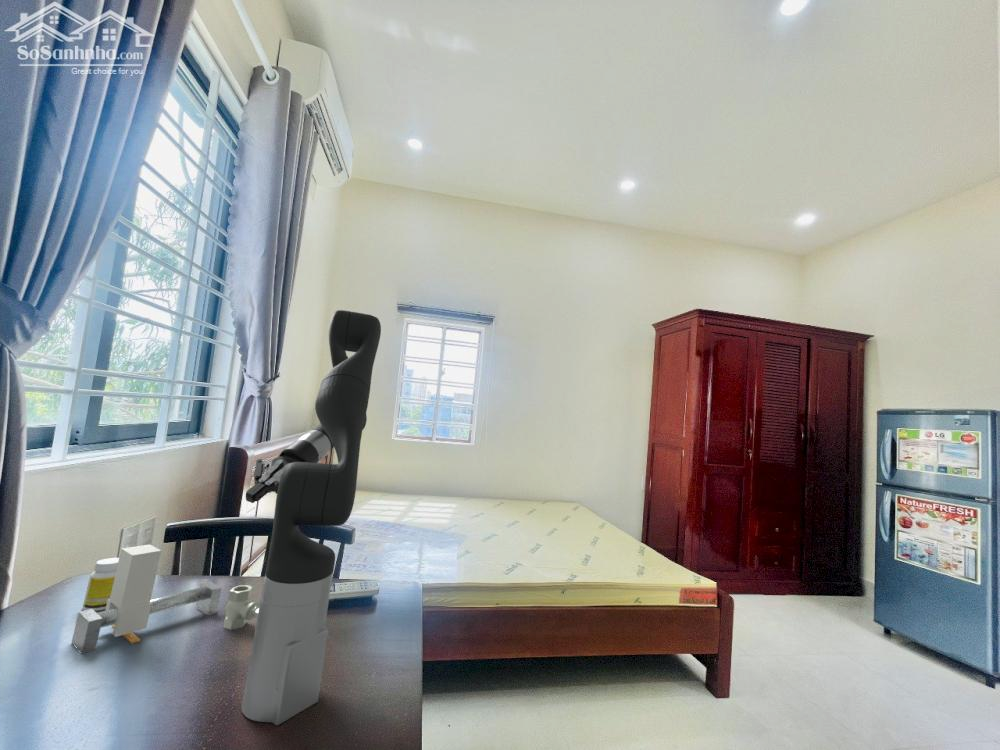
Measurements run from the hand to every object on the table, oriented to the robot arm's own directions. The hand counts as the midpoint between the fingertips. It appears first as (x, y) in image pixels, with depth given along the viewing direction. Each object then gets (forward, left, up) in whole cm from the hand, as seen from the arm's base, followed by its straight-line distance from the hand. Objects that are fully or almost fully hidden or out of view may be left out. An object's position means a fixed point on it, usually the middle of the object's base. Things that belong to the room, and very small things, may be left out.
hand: (248, 499), depth 81 cm
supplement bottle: (+19, +14, -22) cm, 33 cm away
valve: (-9, 0, -23) cm, 24 cm away
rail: (+4, +11, -22) cm, 25 cm away
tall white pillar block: (+4, +15, -21) cm, 26 cm away
